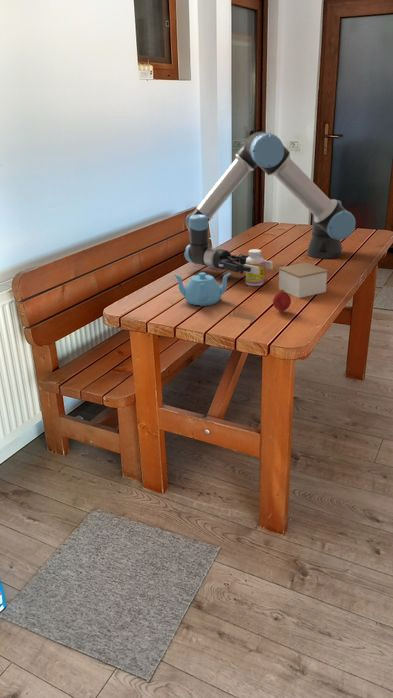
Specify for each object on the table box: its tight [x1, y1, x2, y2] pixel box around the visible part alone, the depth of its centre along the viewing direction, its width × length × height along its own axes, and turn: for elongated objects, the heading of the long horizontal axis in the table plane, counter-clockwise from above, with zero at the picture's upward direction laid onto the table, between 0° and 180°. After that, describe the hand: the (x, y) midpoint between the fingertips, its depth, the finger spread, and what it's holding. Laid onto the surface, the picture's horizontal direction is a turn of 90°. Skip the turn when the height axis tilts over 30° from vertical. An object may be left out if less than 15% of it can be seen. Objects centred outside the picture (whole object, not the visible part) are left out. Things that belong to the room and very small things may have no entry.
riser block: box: [278, 262, 329, 299], centre depth 207 cm, size 12×12×8 cm
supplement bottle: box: [245, 248, 265, 287], centre depth 215 cm, size 7×7×13 cm
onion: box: [272, 289, 292, 313], centre depth 187 cm, size 6×6×8 cm
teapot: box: [173, 271, 232, 307], centre depth 200 cm, size 15×15×10 cm
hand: (265, 268), depth 211 cm, fingers open, 8 cm apart
